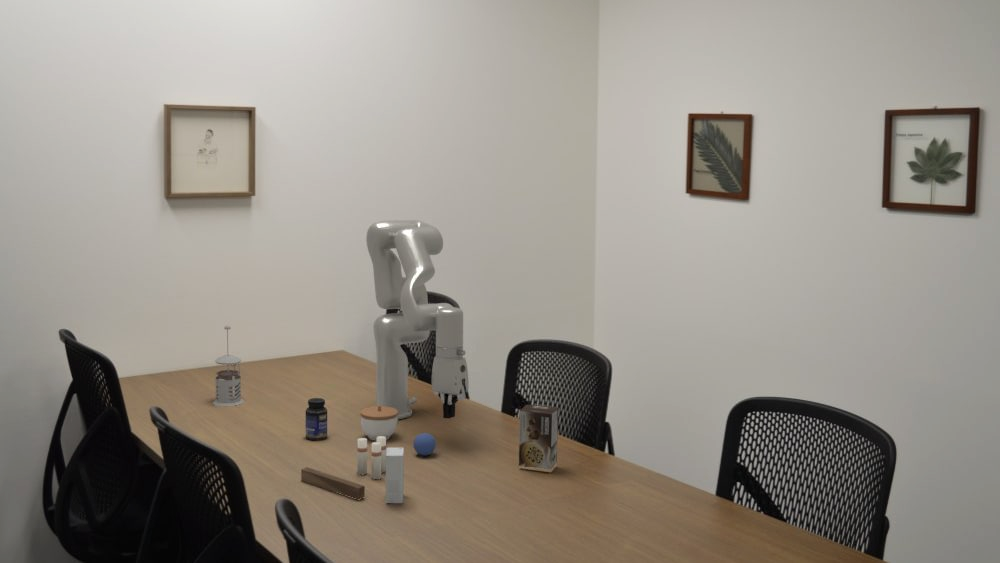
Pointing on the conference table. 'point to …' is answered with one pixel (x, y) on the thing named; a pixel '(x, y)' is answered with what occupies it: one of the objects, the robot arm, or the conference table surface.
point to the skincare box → (394, 475)
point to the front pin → (382, 452)
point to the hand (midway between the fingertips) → (449, 417)
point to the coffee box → (538, 436)
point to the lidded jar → (379, 421)
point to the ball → (424, 444)
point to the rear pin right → (362, 456)
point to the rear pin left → (376, 460)
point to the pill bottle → (316, 419)
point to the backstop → (332, 483)
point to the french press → (228, 381)
